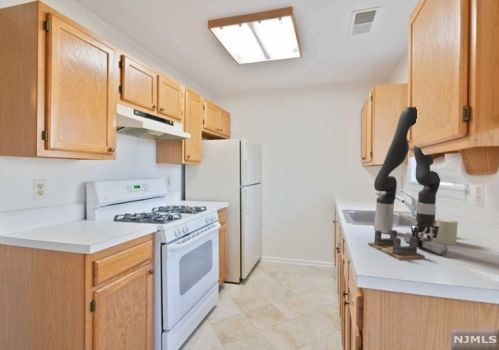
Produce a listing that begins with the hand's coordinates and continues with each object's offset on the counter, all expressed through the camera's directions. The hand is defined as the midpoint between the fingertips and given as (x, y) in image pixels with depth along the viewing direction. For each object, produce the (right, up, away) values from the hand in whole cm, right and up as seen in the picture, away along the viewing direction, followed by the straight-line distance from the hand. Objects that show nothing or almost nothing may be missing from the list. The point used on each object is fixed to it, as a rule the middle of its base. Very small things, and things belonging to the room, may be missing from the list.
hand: (423, 247), depth 128 cm
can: (+20, -1, +12) cm, 23 cm away
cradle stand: (-17, 0, -6) cm, 18 cm away
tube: (0, -1, 0) cm, 1 cm away
